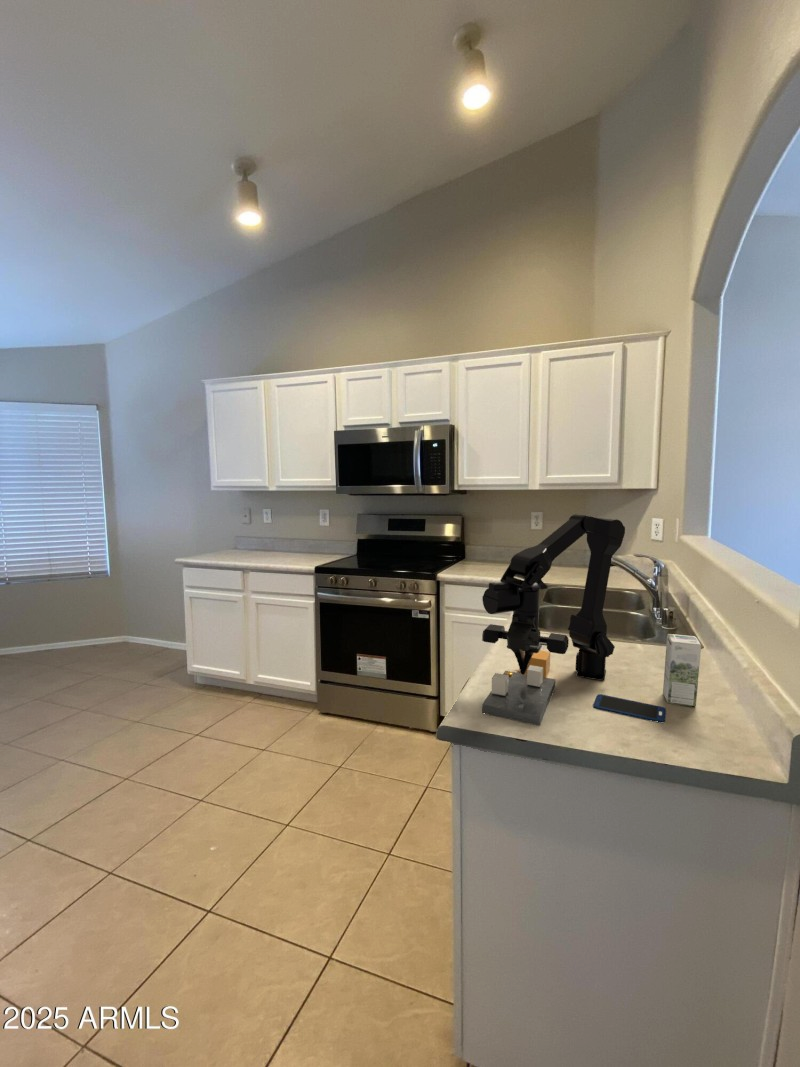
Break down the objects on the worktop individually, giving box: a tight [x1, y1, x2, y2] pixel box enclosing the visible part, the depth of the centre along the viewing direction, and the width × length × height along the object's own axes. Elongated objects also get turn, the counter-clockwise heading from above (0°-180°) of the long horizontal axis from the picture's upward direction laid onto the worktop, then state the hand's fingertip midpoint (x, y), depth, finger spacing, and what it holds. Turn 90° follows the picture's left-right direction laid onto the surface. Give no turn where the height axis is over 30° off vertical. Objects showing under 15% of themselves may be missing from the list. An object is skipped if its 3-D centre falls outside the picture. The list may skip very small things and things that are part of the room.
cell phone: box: [592, 694, 667, 723], centre depth 108 cm, size 7×14×1 cm, turn 60°
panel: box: [481, 670, 556, 726], centre depth 112 cm, size 12×20×2 cm, turn 154°
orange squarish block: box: [519, 649, 551, 678], centre depth 127 cm, size 6×6×5 cm
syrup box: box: [662, 633, 702, 707], centre depth 111 cm, size 6×6×14 cm
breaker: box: [490, 672, 509, 696], centre depth 110 cm, size 3×3×4 cm
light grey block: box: [527, 665, 543, 687], centre depth 115 cm, size 3×3×4 cm
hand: (523, 673), depth 116 cm, fingers closed
